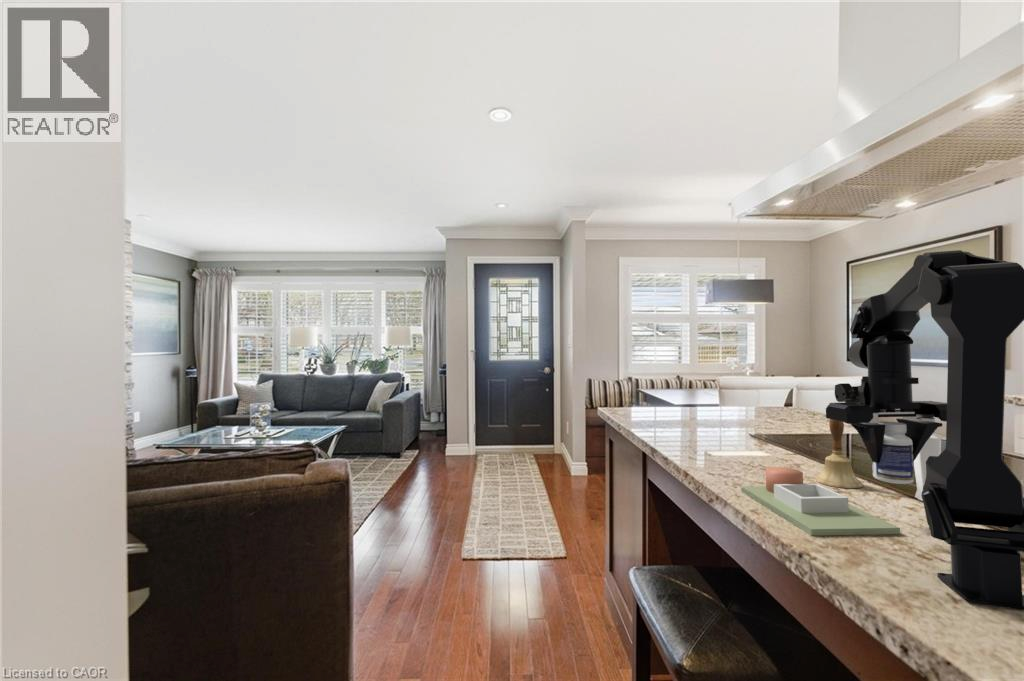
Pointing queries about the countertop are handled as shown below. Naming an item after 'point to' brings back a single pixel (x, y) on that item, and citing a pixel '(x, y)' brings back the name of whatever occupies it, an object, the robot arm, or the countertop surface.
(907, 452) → the pill bottle
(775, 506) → the green board with tray
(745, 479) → the countertop surface
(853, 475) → the hand bell
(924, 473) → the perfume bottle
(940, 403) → the robot arm
